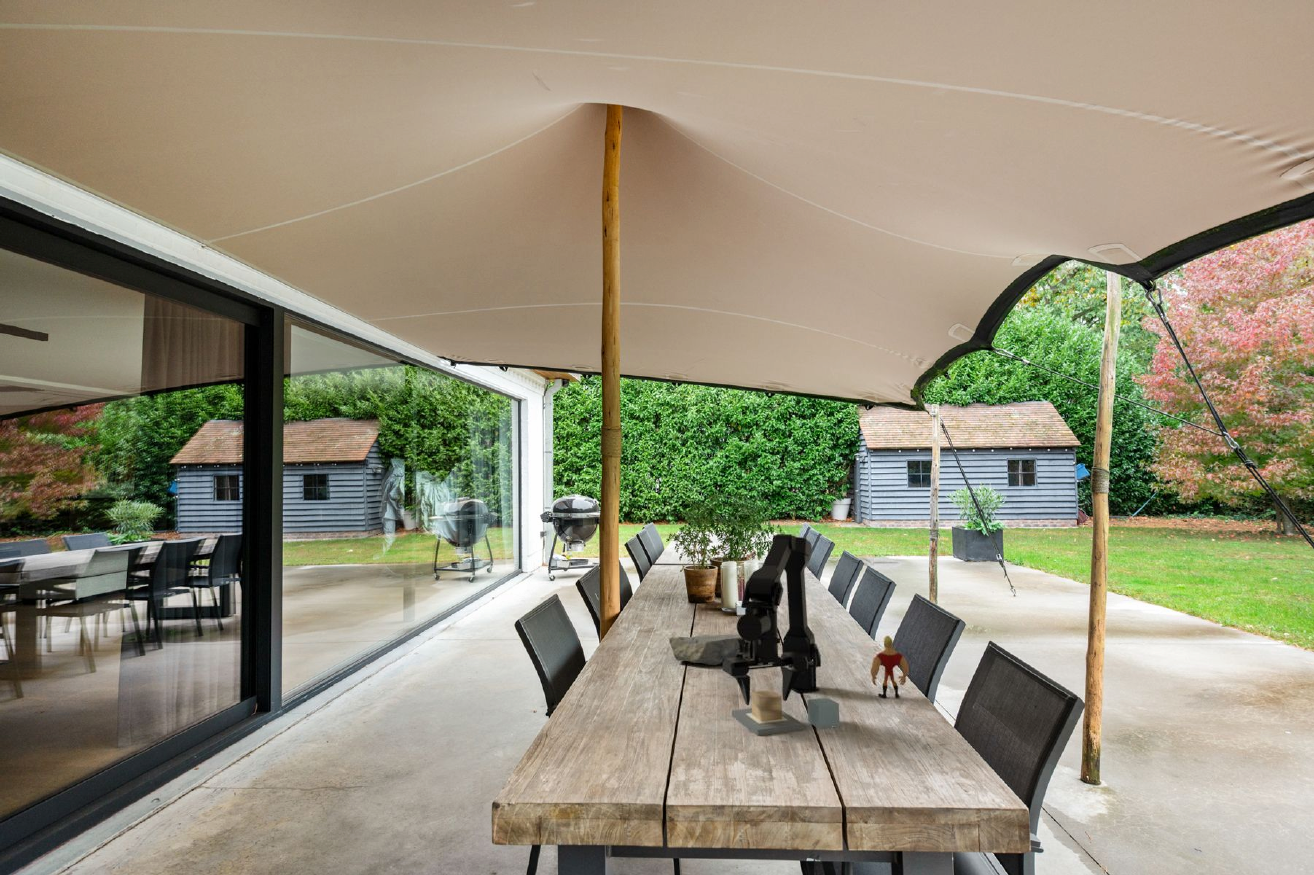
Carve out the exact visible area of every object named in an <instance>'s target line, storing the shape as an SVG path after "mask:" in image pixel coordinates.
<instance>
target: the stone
mask: <svg viewBox="0 0 1314 875" xmlns="http://www.w3.org/2000/svg"><path fill="white" fill-rule="evenodd" d="M738 639H743V638H742V637H741V636H740V635H739V633H734V634H715V635H713V634H711V635H710V634H709V635H708V634H701V635H695V636H690V637H689V636H677V637H669V638H668V641H669V644H670V647H671V649H672V652H673V656H674V658H675V660H676V661H678V662H682V661H686V662H690V663H695V664H696V663H697V664H700V663H701V664H705V665H707V666H717V665H720V664H723V662H724V660H725V658H733V657H738V656H739V655H741V654H736V652H735V640H738ZM745 642H749V641H747V640H745Z"/></svg>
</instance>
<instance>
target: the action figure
mask: <svg viewBox="0 0 1314 875" xmlns="http://www.w3.org/2000/svg"><path fill="white" fill-rule="evenodd" d="M893 647H894V643H893V639H892V638H891V637H890V636H889V635H886V636H885V637H884V638H883V648H884V650H882V651H881V652H878V654H876V656H875V657H873V659H872V663H871V668H870V675H871V677H872V679H871V681H872V684H873V685H874V686H876V687H877V686H878V685H877V683H876V680H877V679H878V678H877V675H878V674H879V670H880V666H882V667H884V678H883V679H884V680H883V683H882V693H878V694H877V696H878V697H879V698H883V699H887V698H888V696H887V690H888V680H889V678H890V680H891V683H892V688H893V689H894V698H896V699H898V698H900V694H899V686H898V683H897V682H896V681H895V677H894V676H895V675H894V668H895V667H896V666H900V669H901V671H902V675H899V676H898V677H897V678H898V679H899V681H898V682H899V685H900V686H904V685H906V683H907V676H908V675H909V670H910V669H909V665H908V662H907V659H906V658H905V656H904V655H903V654H901V653H900V652H897V650H895V649H894V648H893Z"/></svg>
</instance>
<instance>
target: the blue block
mask: <svg viewBox="0 0 1314 875" xmlns="http://www.w3.org/2000/svg"><path fill="white" fill-rule="evenodd" d="M806 700H807V722H808V723H809V724H810V725H813V726H814V727H815V726H816V729H819V730H823V729H828V728H827V727H831V728H833V727H832V726H839V727H840V703H838V702H836V701H835V700H833V699H831V698H830V697H819V698H810V699H806ZM822 728H823V729H822Z"/></svg>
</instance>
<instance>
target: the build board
mask: <svg viewBox="0 0 1314 875" xmlns="http://www.w3.org/2000/svg"><path fill="white" fill-rule="evenodd" d="M731 716H732V717H733V718H734V719H735V718H736V719H735V720H737V721H738V722H739V723H740V722H741V725H743V726H744V727H746V728H747V729H748V730H750V731H751V732H752V731H753V732H752V733H753V734H755V735H756V736H764V735H765V736H766V735H773V734H780V733H789V732H791V733H792V732H795V731H796V732H797V731H798V732H799V731H804V730H805V728H804V727H805V726H804V725H805V724H804V723H803V722H801V721H799V720H798V719H796V718H795V717H793V716H792V715H790V714H788V713H787V712H786V711H783V710H782V719H778V720H769V721H760V720H759V719H757V718H756V717H755V716H753V715H752V707H751V708H743V709H742V708H741V709H734V710H731Z"/></svg>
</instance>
